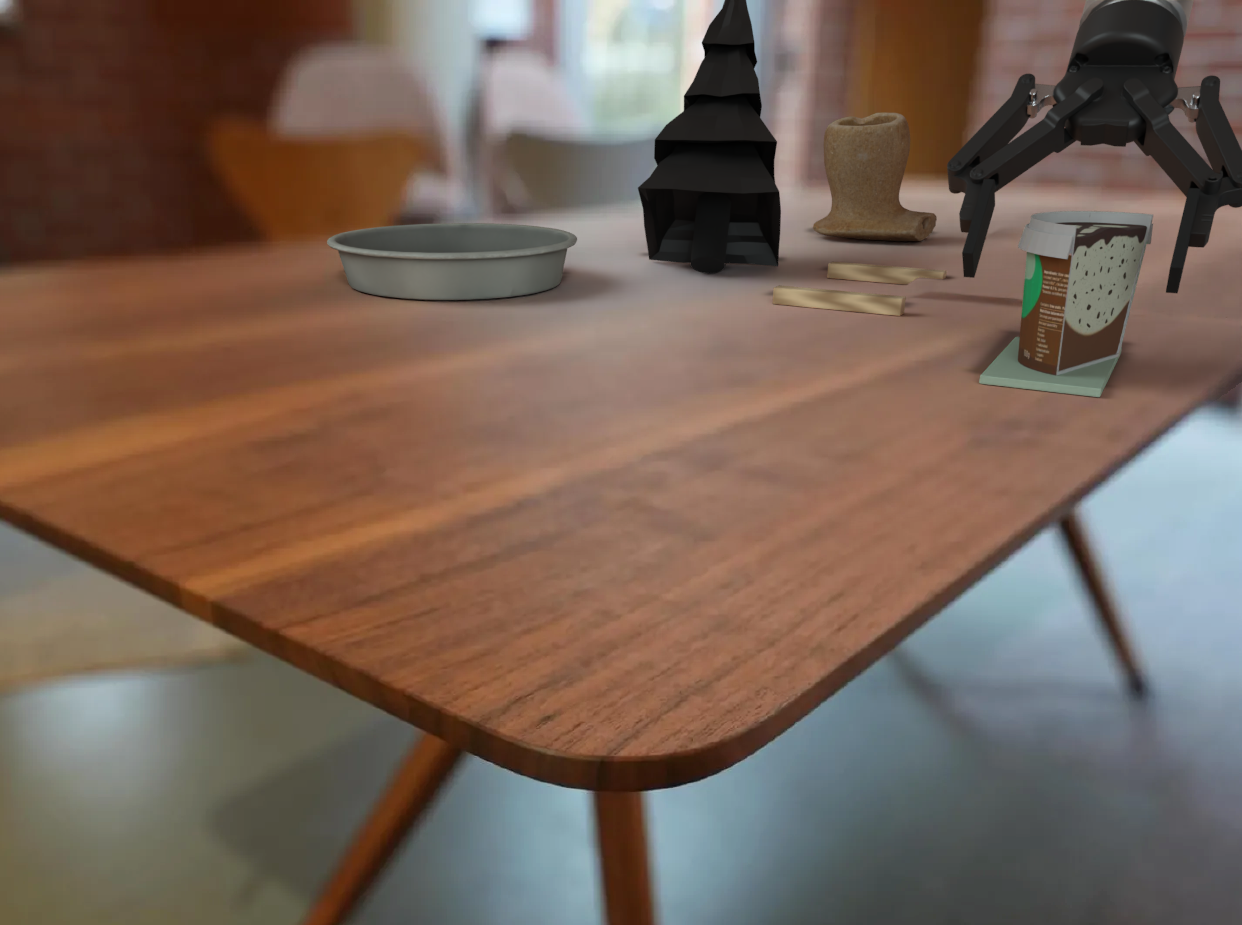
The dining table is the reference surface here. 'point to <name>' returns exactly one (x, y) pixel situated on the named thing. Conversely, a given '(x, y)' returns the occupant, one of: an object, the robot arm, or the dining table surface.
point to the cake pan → (453, 260)
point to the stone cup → (870, 180)
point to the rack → (856, 299)
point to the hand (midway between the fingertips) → (1067, 273)
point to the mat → (1046, 375)
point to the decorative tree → (716, 162)
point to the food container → (1079, 286)
